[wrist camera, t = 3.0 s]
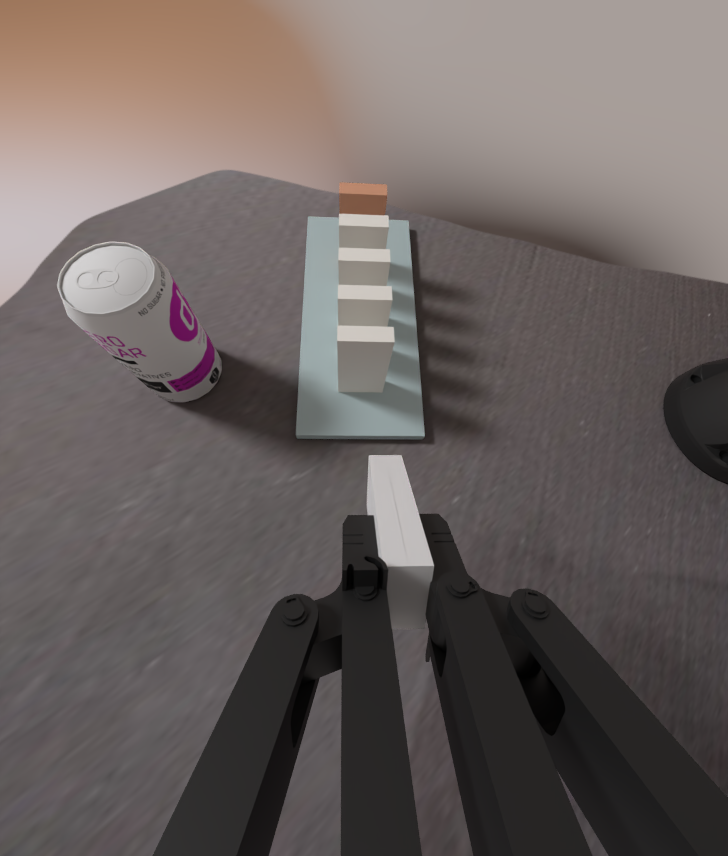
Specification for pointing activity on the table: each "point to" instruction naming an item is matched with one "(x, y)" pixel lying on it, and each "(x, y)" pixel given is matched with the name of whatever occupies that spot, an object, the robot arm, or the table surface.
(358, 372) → the domino
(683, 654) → the table surface
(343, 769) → the robot arm
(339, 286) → the domino
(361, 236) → the domino
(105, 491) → the table surface
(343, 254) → the domino
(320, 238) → the domino board
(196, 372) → the supplement can
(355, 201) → the domino
